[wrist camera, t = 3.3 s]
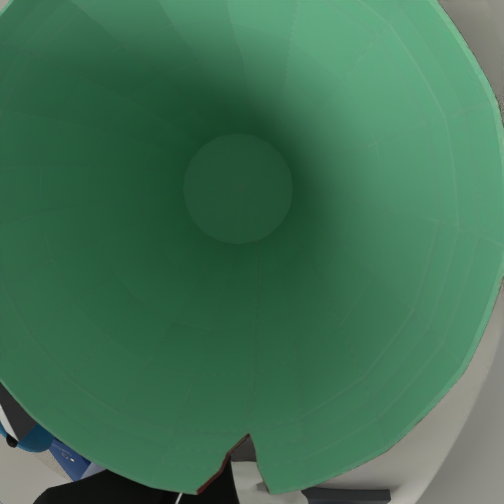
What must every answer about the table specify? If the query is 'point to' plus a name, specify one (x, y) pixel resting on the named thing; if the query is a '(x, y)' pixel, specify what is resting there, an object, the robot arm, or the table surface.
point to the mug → (242, 228)
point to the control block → (346, 496)
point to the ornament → (31, 439)
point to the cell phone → (69, 459)
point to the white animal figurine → (258, 487)
